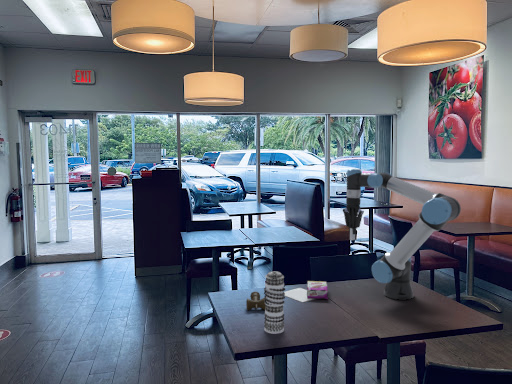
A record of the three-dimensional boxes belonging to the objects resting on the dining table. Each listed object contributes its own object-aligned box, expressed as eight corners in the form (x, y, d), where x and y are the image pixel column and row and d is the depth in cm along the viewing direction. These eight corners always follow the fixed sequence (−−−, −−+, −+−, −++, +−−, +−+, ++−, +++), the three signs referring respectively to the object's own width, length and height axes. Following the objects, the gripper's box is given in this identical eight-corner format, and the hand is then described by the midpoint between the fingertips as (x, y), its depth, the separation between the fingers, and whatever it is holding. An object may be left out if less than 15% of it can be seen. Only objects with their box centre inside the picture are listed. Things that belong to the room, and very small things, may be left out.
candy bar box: (307, 289, 217) (306, 280, 233) (307, 298, 217) (306, 289, 233) (328, 289, 215) (326, 281, 232) (328, 299, 216) (326, 289, 232)
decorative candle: (289, 329, 178) (289, 272, 176) (275, 336, 171) (276, 277, 169) (272, 323, 184) (273, 268, 182) (259, 329, 177) (259, 272, 175)
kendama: (264, 301, 215) (266, 314, 196) (246, 301, 215) (246, 315, 195) (264, 289, 215) (266, 301, 195) (245, 290, 215) (246, 302, 195)
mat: (323, 296, 222) (323, 295, 222) (302, 302, 212) (302, 302, 212) (299, 288, 236) (299, 287, 236) (278, 293, 226) (278, 293, 226)
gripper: (339, 196, 228) (338, 238, 230) (358, 198, 218) (357, 242, 220) (348, 196, 233) (347, 237, 235) (367, 197, 223) (366, 240, 225)
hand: (352, 239), depth 227 cm, fingers closed
